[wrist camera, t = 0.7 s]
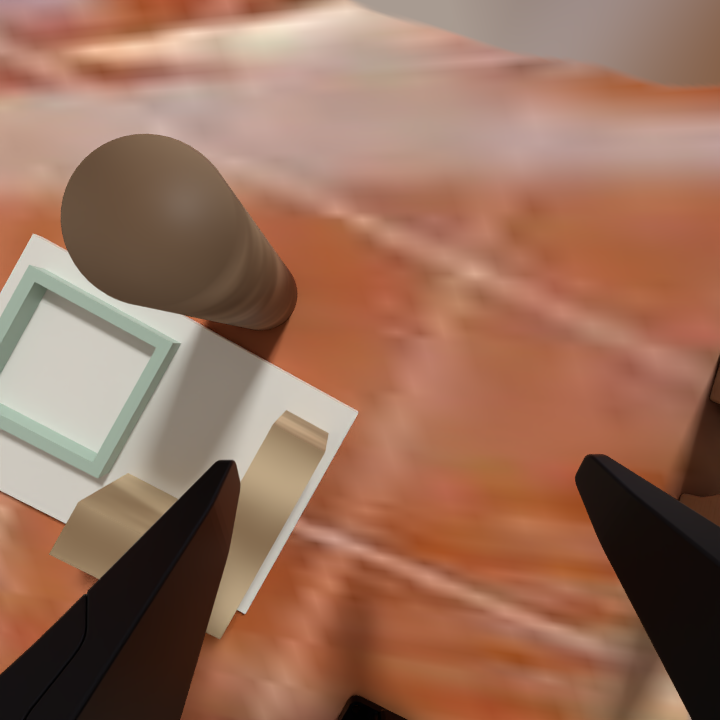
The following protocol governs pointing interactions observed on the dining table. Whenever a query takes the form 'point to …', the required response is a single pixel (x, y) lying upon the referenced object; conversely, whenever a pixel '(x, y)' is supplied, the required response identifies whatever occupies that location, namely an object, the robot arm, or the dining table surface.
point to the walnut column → (172, 235)
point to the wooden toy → (713, 506)
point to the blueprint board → (132, 395)
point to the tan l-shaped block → (147, 503)
